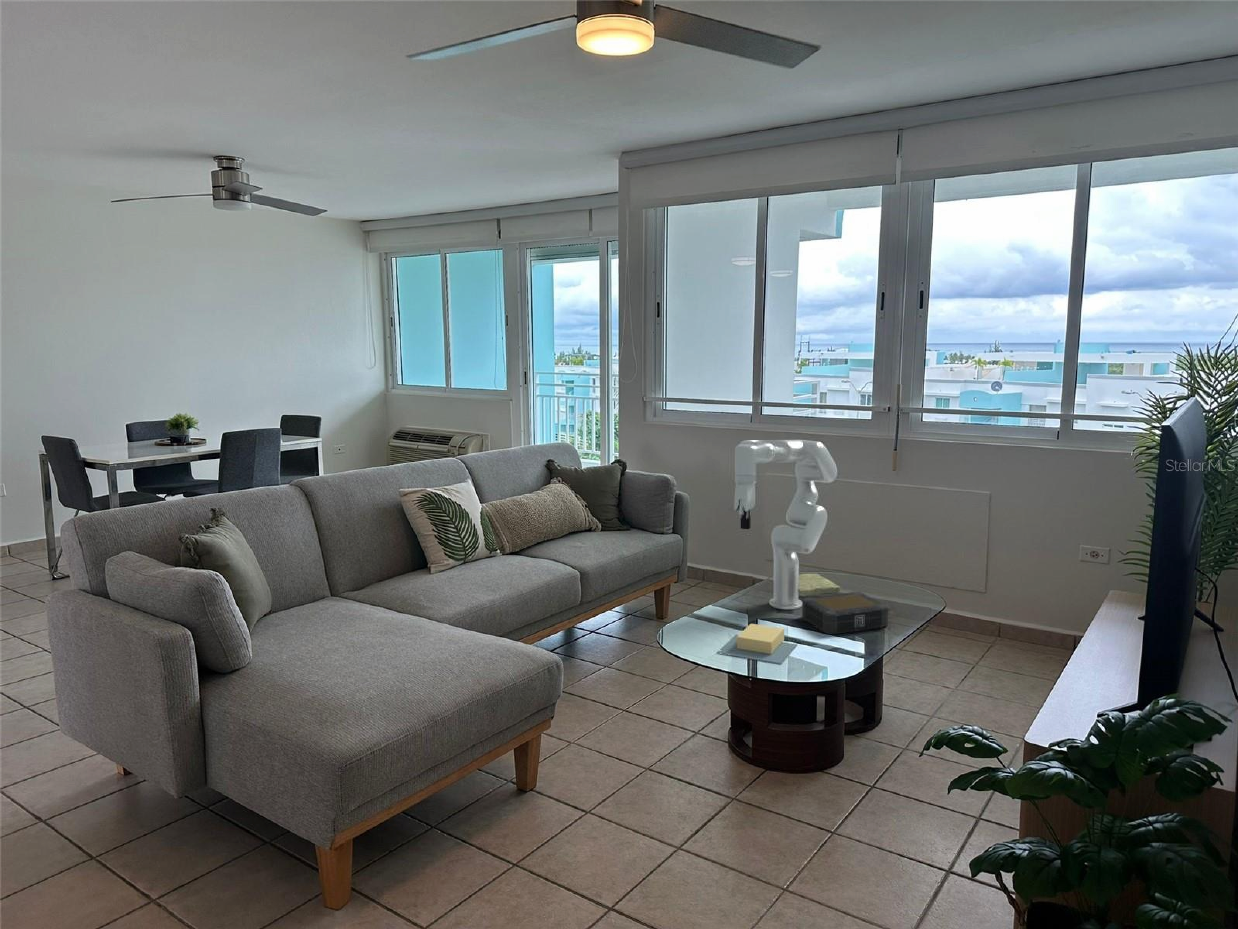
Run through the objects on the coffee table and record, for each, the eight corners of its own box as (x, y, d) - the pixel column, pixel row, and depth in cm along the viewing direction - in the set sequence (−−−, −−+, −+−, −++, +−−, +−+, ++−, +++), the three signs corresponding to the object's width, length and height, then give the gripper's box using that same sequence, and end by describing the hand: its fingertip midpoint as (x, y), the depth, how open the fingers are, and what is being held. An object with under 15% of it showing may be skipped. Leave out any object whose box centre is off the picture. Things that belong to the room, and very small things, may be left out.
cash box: (828, 636, 291) (829, 615, 290) (800, 617, 310) (800, 597, 309) (890, 627, 298) (891, 607, 296) (859, 610, 317) (859, 590, 316)
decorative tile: (816, 579, 357) (816, 571, 356) (840, 593, 338) (841, 585, 337) (777, 584, 352) (777, 576, 352) (799, 598, 333) (799, 589, 332)
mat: (735, 635, 292) (735, 634, 292) (797, 645, 282) (797, 644, 282) (716, 653, 277) (716, 652, 277) (781, 664, 267) (781, 663, 266)
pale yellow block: (750, 623, 291) (736, 636, 279) (784, 628, 285) (771, 642, 273) (750, 635, 291) (736, 649, 279) (784, 640, 286) (771, 654, 274)
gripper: (742, 474, 307) (742, 523, 310) (728, 481, 294) (728, 532, 297) (762, 476, 303) (762, 525, 306) (748, 483, 290) (748, 534, 293)
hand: (745, 528), depth 301 cm, fingers closed
